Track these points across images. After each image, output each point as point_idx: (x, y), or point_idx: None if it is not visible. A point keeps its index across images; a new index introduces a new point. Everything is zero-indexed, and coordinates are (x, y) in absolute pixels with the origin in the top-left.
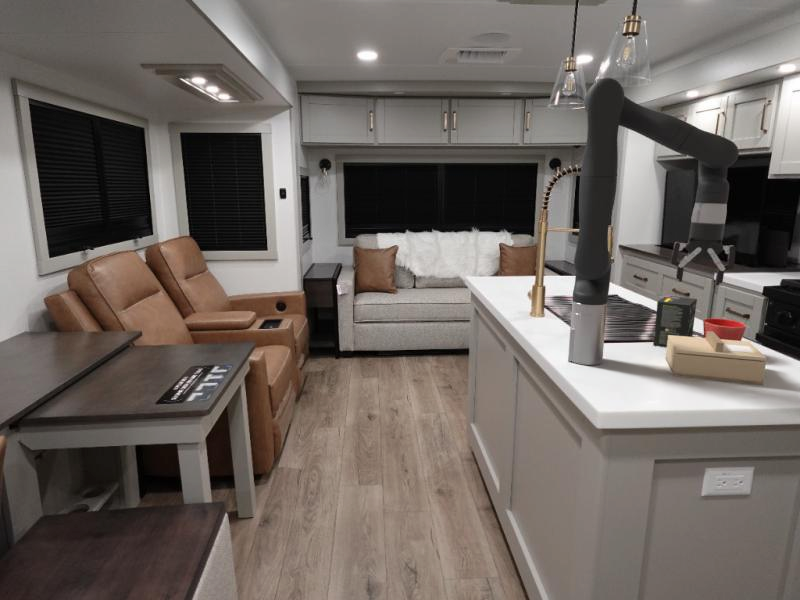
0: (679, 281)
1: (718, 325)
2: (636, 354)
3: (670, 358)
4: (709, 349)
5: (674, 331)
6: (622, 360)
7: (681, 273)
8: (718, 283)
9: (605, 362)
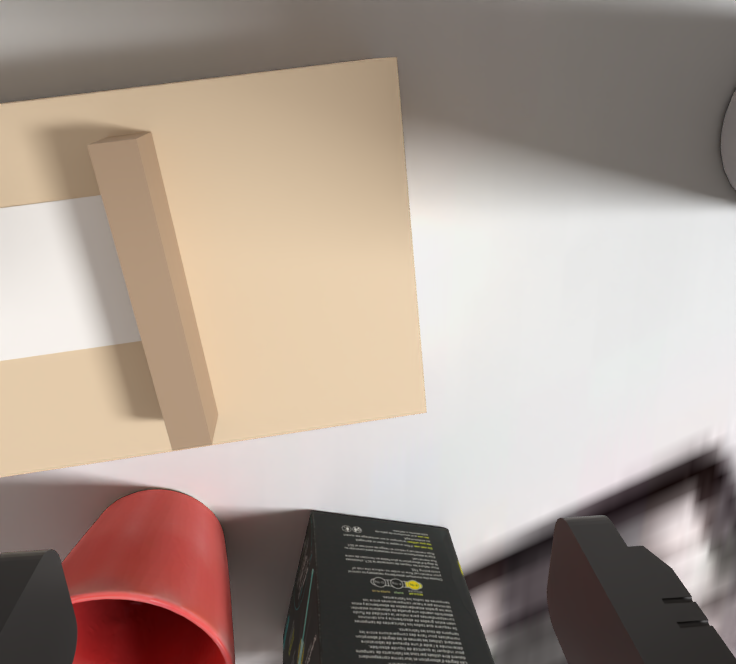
0: (590, 517)
1: (147, 600)
2: (534, 351)
3: None
4: (189, 174)
5: (376, 579)
6: (611, 215)
7: (649, 616)
8: (4, 560)
9: (702, 136)
